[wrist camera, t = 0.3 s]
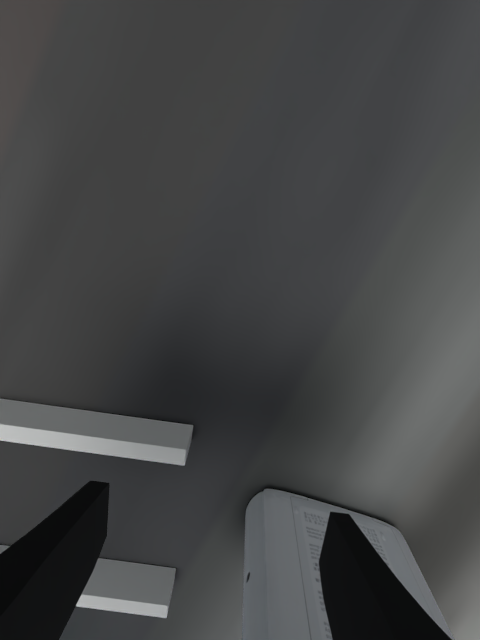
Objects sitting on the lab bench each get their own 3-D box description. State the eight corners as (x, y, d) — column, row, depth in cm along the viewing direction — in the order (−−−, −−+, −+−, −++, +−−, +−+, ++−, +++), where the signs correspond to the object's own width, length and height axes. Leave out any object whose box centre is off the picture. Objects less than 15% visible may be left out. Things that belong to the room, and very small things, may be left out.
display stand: (174, 579, 24) (146, 714, 18) (-58, 548, 24) (-177, 672, 17) (193, 425, 21) (168, 514, 15) (-70, 388, 21) (-220, 462, 14)
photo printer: (235, 529, 23) (221, 845, 11) (255, 476, 22) (264, 761, 10) (380, 571, 24) (514, 915, 12) (406, 521, 23) (583, 840, 11)
